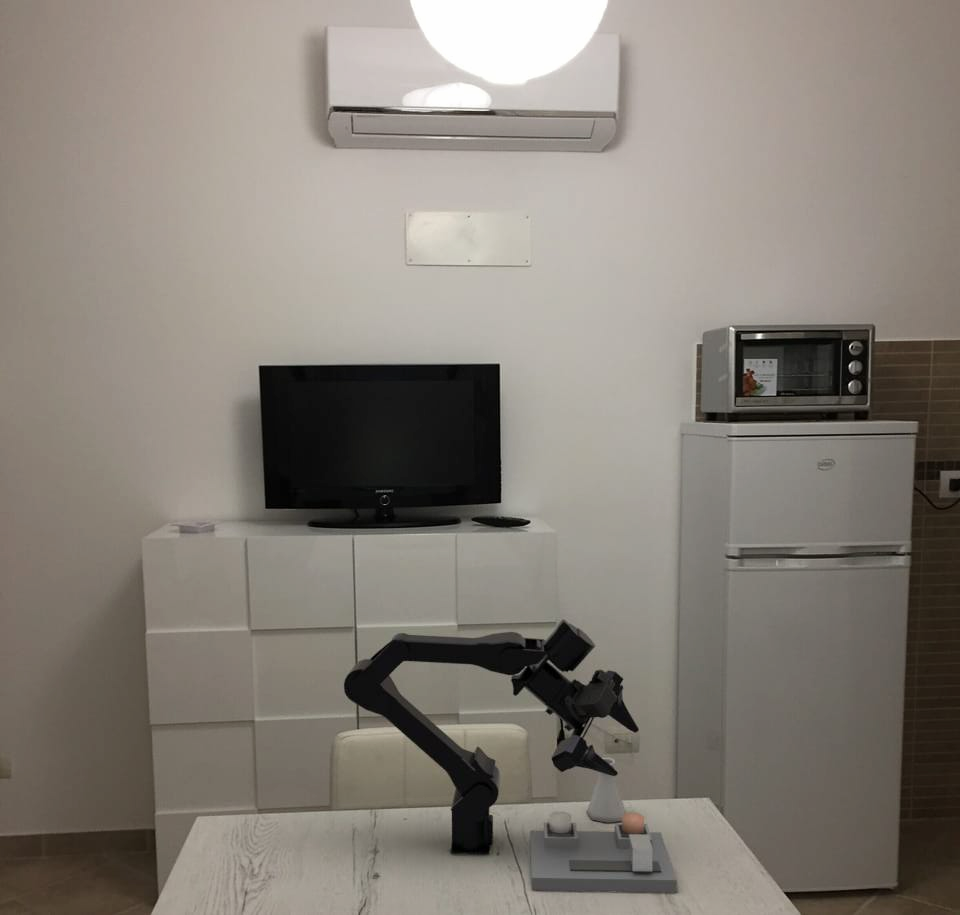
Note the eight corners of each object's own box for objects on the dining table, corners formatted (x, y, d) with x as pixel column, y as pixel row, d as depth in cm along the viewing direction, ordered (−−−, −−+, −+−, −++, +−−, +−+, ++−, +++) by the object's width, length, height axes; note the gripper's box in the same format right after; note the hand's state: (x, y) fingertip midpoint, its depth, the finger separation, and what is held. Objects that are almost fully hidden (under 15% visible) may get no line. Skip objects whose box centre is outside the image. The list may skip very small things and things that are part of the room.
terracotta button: (623, 834, 143) (623, 822, 143) (620, 823, 146) (620, 811, 146) (645, 834, 142) (645, 822, 142) (642, 823, 146) (642, 812, 146)
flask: (625, 806, 161) (625, 753, 161) (628, 825, 154) (628, 769, 154) (585, 805, 162) (585, 752, 162) (586, 823, 155) (586, 768, 154)
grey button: (550, 832, 143) (550, 821, 143) (549, 822, 147) (549, 810, 147) (572, 833, 143) (572, 821, 143) (570, 822, 147) (570, 811, 146)
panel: (531, 890, 133) (531, 867, 133) (530, 841, 148) (530, 821, 148) (676, 893, 132) (676, 869, 132) (660, 843, 147) (660, 823, 147)
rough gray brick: (632, 871, 134) (632, 848, 134) (628, 856, 138) (629, 834, 138) (652, 871, 134) (652, 848, 133) (648, 856, 138) (648, 834, 138)
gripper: (554, 719, 133) (633, 786, 132) (603, 634, 145) (674, 695, 145) (521, 739, 141) (594, 803, 141) (569, 657, 153) (637, 715, 153)
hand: (626, 752), depth 145 cm, fingers open, 9 cm apart
